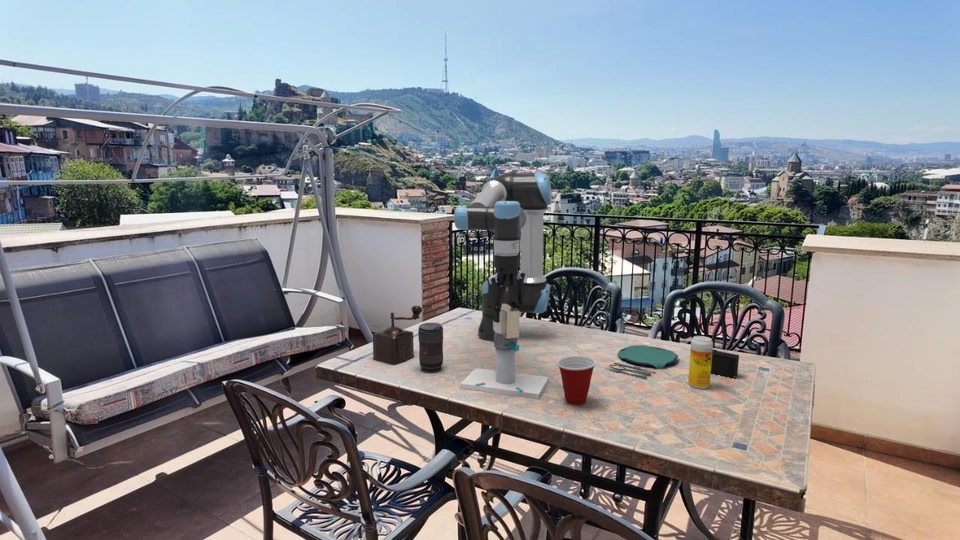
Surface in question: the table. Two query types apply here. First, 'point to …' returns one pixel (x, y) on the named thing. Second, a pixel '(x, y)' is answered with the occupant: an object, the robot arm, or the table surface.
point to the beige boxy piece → (508, 329)
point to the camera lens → (430, 347)
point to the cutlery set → (644, 358)
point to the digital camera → (724, 364)
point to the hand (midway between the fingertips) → (505, 330)
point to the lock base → (505, 378)
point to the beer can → (700, 362)
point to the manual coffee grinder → (395, 341)
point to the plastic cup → (576, 377)
